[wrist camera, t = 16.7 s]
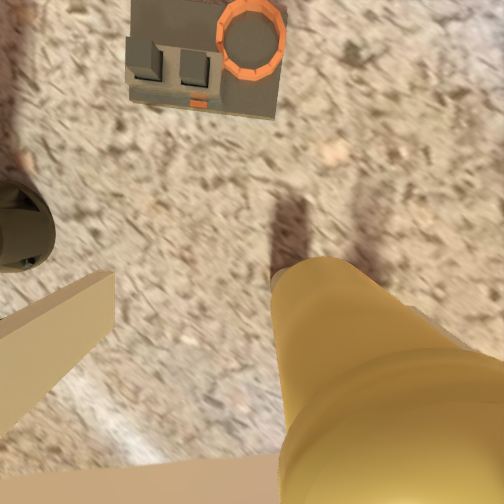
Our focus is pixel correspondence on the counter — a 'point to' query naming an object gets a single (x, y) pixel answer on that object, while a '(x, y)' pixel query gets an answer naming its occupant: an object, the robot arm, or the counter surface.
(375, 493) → the cap
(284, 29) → the orange ring
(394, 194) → the counter surface
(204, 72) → the block
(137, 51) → the block
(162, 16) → the breaker panel
